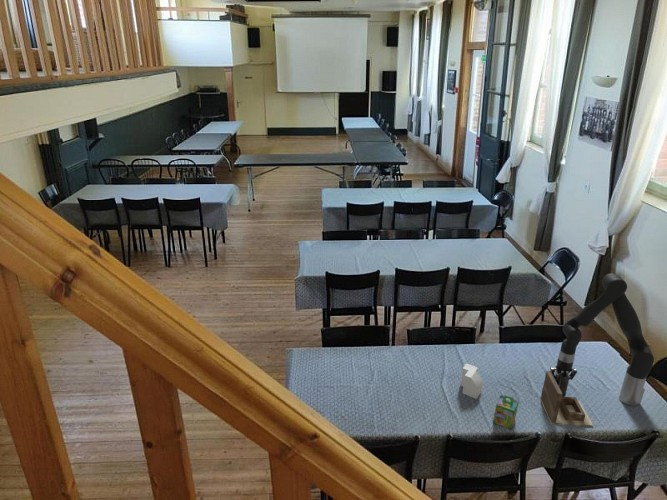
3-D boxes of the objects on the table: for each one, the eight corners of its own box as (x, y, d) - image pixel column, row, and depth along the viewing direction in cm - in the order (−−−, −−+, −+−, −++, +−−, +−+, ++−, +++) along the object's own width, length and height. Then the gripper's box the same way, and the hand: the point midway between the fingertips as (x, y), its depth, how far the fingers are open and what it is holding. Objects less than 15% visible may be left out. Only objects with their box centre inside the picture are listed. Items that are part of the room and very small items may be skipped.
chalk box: (492, 423, 243) (496, 399, 237) (497, 412, 250) (501, 389, 244) (511, 430, 239) (516, 406, 233) (515, 419, 246) (520, 395, 240)
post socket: (579, 402, 257) (586, 372, 250) (592, 426, 241) (601, 396, 233) (540, 399, 259) (546, 370, 252) (551, 424, 242) (558, 393, 235)
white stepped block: (463, 380, 273) (466, 363, 269) (483, 388, 267) (486, 370, 263) (456, 391, 265) (458, 373, 261) (476, 399, 259) (479, 381, 255)
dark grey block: (560, 386, 269) (564, 368, 264) (565, 395, 261) (569, 377, 257) (552, 385, 269) (556, 368, 264) (557, 395, 262) (561, 377, 257)
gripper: (577, 354, 260) (571, 380, 266) (550, 353, 261) (544, 379, 267) (582, 363, 253) (576, 389, 259) (554, 361, 254) (549, 388, 261)
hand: (560, 384), depth 263 cm, fingers closed on dark grey block, 4 cm apart
